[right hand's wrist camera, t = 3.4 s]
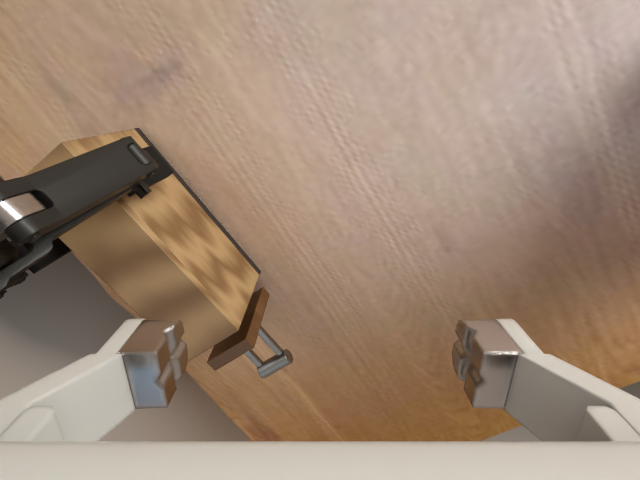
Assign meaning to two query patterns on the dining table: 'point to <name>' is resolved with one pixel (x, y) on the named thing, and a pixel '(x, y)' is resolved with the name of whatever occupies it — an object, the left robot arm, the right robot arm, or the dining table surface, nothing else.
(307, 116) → the dining table surface
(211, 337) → the cabinet
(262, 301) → the drawer
